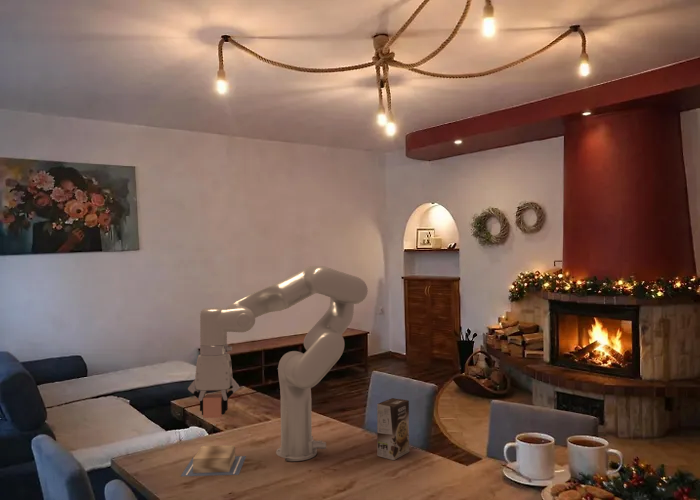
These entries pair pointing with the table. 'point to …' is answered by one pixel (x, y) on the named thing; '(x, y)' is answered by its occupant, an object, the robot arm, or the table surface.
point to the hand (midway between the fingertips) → (213, 412)
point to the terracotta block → (212, 406)
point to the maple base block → (214, 459)
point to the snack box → (392, 428)
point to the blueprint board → (233, 471)
